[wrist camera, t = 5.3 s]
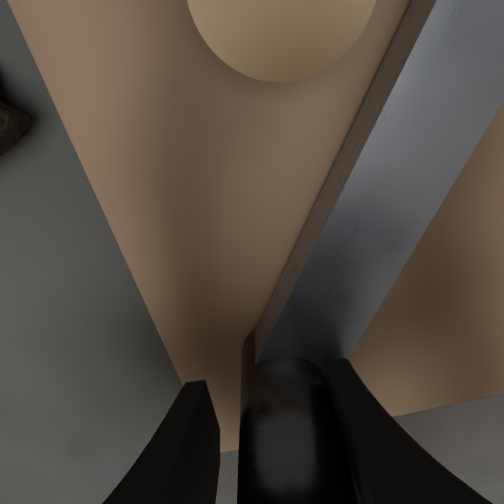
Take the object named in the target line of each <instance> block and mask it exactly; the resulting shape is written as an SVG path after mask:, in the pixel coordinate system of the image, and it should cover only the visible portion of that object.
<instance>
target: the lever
mask: <svg viewBox="0 0 504 504" xmlns="http://www.w3.org/2000/svg"><path fill="white" fill-rule="evenodd" d="M503 101H504V0H412V2H411V4H410V6H409V8H408V10H407V12H406V14H405V17H404V19H403V21H402V23H401V25H400V27H399V29H398V31H397V33H396V35H395V38H394V40H393V42H392V44H391V46H390V48H389V50H388V52H387V54H386V56H385V59H384V61H383V63H382V65H381V67H380V69H379V71H378V73H377V75H376V77H375V80H374V82H373V84H372V86H371V88H370V90H369V92H368V94H367V96H366V99H365V101H364V103H363V105H362V107H361V109H360V111H359V113H358V115H357V117H356V120H355V122H354V124H353V126H352V128H351V130H350V132H349V134H348V136H347V138H346V141H345V143H344V145H343V147H342V149H341V151H340V153H339V155H338V157H337V159H336V162H335V164H334V166H333V168H332V170H331V172H330V174H329V176H328V178H327V180H326V183H325V185H324V187H323V189H322V191H321V193H320V195H319V197H318V199H317V201H316V204H315V206H314V208H313V210H312V212H311V214H310V216H309V218H308V220H307V223H306V225H305V227H304V229H303V231H302V233H301V235H300V237H299V239H298V241H297V244H296V246H295V248H294V250H293V252H292V254H291V256H290V258H289V260H288V262H287V265H286V267H285V269H284V271H283V273H282V275H281V277H280V279H279V281H278V283H277V286H276V288H275V290H274V292H273V294H272V296H271V298H270V300H269V302H268V304H267V307H266V309H265V311H264V313H263V315H262V317H261V319H260V321H259V323H258V326H257V328H256V329H255V330H253V331H252V332H251V333H250V334H249V335H248V337H247V338H246V340H245V341H244V344H243V347H242V357H241V390H240V423H239V456H238V489H237V504H358V501H357V497H356V492H355V488H354V484H353V480H352V476H351V472H350V468H349V463H348V459H347V455H346V451H345V447H344V443H343V439H342V436H341V432H340V429H339V425H338V422H337V419H336V416H335V412H334V408H333V404H332V400H331V395H330V391H329V387H328V380H327V374H326V367H325V361H328V360H335V359H341V358H346V359H348V358H349V356H350V355H351V353H352V351H353V350H354V348H355V346H356V345H357V343H358V341H359V340H360V338H361V337H362V335H363V333H364V332H365V330H366V328H367V327H368V325H369V323H370V322H371V320H372V318H373V317H374V315H375V313H376V312H377V310H378V308H379V307H380V305H381V303H382V302H383V300H384V298H385V297H386V295H387V293H388V292H389V290H390V288H391V287H392V285H393V283H394V282H395V280H396V278H397V277H398V275H399V273H400V272H401V270H402V269H403V267H404V265H405V264H406V262H407V260H408V259H409V257H410V255H411V254H412V252H413V250H414V249H415V247H416V245H417V244H418V242H419V240H420V239H421V237H422V235H423V234H424V232H425V230H426V229H427V227H428V225H429V224H430V222H431V220H432V219H433V217H434V215H435V214H436V212H437V210H438V209H439V207H440V206H441V204H442V202H443V201H444V199H445V197H446V196H447V194H448V192H449V191H450V189H451V187H452V186H453V184H454V182H455V181H456V179H457V177H458V176H459V174H460V172H461V171H462V169H463V167H464V166H465V164H466V162H467V161H468V159H469V157H470V156H471V154H472V152H473V151H474V149H475V147H476V146H477V144H478V142H479V141H480V139H481V138H482V136H483V134H484V133H485V131H486V129H487V128H488V126H489V124H490V123H491V121H492V119H493V118H494V116H495V114H496V113H497V111H498V109H499V108H500V106H501V104H502V103H503Z"/></svg>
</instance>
